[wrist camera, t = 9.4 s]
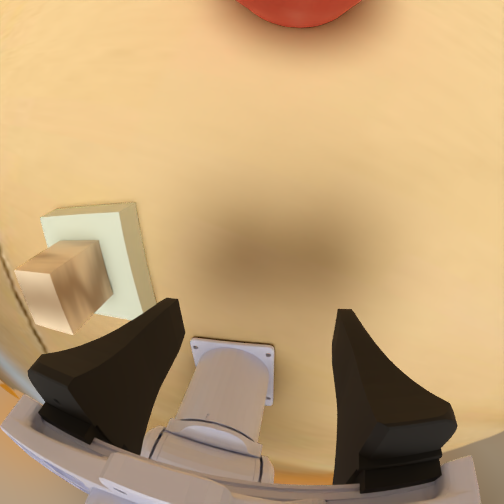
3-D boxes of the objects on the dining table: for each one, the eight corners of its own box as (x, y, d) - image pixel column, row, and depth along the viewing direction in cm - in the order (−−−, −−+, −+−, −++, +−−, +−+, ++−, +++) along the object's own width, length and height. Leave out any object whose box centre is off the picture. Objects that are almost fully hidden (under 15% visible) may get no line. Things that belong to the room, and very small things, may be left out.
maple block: (113, 294, 23) (73, 335, 17) (74, 289, 23) (35, 324, 18) (98, 239, 21) (49, 273, 15) (60, 240, 21) (14, 269, 16)
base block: (159, 303, 26) (146, 322, 23) (84, 293, 28) (69, 308, 25) (138, 200, 22) (118, 211, 19) (60, 207, 24) (39, 217, 21)
